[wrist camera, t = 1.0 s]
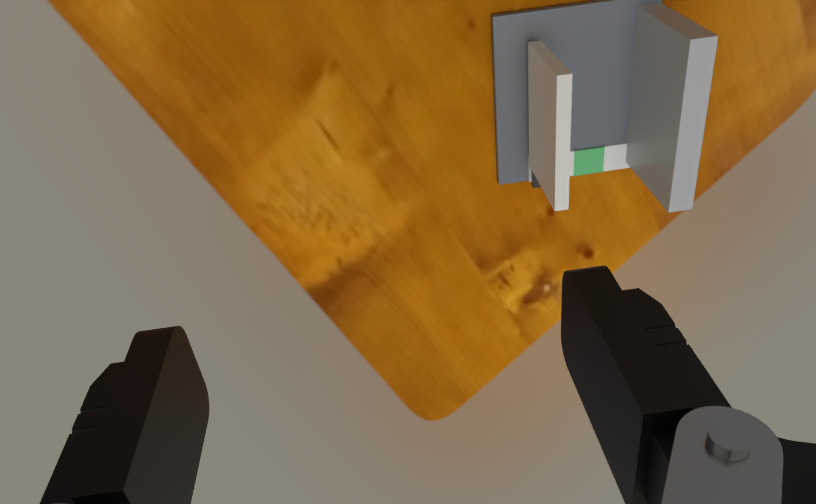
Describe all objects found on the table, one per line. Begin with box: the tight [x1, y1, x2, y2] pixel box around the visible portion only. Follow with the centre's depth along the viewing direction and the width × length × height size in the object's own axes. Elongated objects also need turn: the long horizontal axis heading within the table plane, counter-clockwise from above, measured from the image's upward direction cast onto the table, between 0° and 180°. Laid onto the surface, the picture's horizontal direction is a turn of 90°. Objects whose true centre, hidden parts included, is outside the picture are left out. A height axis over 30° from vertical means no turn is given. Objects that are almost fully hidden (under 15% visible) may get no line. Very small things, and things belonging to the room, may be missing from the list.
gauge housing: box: [491, 0, 718, 212], centre depth 39 cm, size 11×10×8 cm
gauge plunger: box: [528, 40, 572, 211], centre depth 39 cm, size 9×1×6 cm, turn 6°
